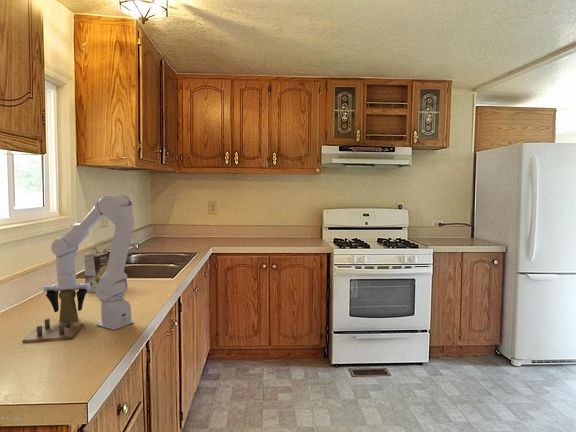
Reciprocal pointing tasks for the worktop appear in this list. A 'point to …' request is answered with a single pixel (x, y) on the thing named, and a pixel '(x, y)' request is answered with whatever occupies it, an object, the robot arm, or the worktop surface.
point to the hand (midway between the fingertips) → (68, 310)
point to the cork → (68, 306)
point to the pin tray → (54, 332)
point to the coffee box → (95, 268)
